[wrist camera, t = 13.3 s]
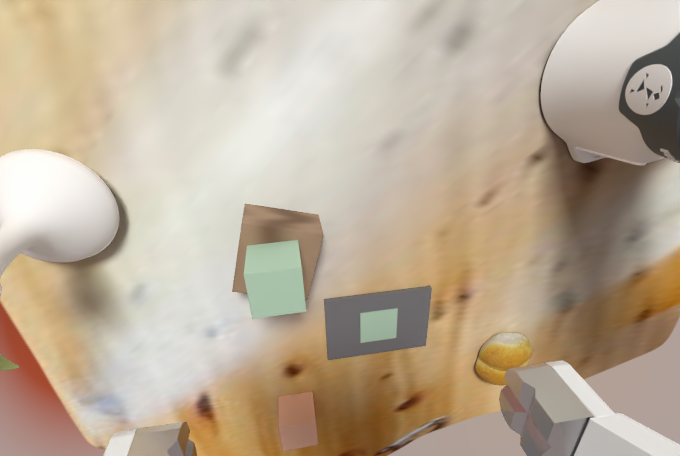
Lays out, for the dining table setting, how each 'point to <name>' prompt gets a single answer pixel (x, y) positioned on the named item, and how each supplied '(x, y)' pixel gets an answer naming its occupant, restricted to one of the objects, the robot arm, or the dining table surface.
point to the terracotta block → (297, 421)
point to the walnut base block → (279, 238)
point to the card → (377, 322)
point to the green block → (274, 279)
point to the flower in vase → (52, 210)
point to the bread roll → (502, 356)
